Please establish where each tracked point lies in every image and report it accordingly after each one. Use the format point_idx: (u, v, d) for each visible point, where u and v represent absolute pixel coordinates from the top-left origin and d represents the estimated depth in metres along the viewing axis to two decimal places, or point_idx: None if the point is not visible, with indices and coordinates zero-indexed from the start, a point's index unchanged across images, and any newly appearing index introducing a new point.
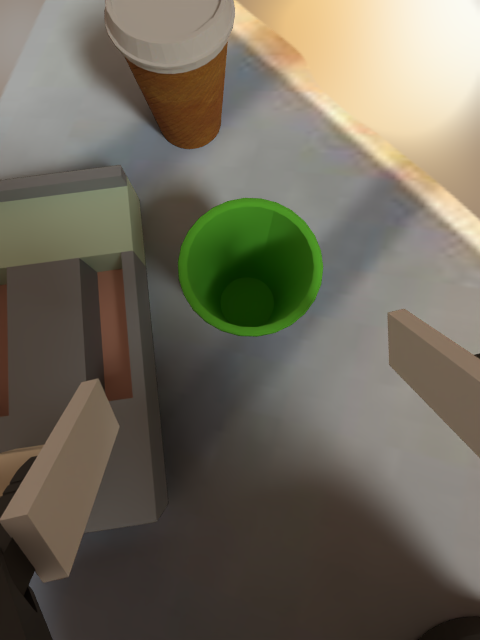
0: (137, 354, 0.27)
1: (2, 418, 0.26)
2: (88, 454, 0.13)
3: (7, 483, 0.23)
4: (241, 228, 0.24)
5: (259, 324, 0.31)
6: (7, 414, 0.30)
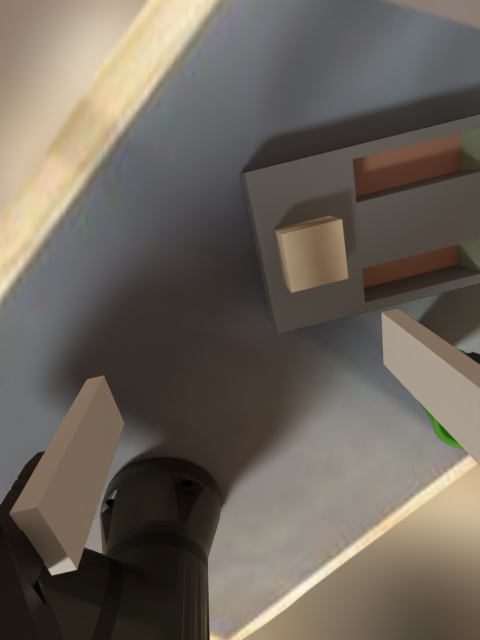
0: (397, 300, 0.34)
1: (354, 197, 0.30)
2: (94, 450, 0.13)
3: (321, 240, 0.28)
4: None
5: None
6: None
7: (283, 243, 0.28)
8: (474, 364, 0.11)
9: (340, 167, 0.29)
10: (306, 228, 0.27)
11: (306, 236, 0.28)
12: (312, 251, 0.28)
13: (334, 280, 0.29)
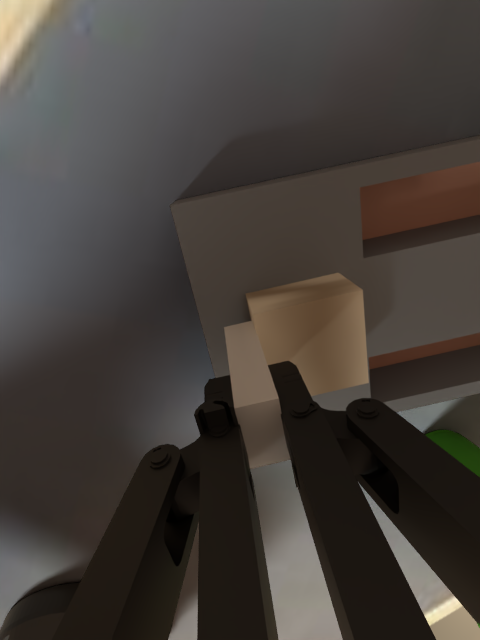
0: (421, 401, 0.22)
1: (360, 249, 0.18)
2: None
3: (324, 324, 0.16)
4: None
5: None
6: None
7: (257, 329, 0.15)
8: (266, 371, 0.13)
9: (338, 200, 0.17)
10: (298, 304, 0.15)
11: (299, 317, 0.15)
12: (308, 341, 0.16)
13: (345, 386, 0.17)
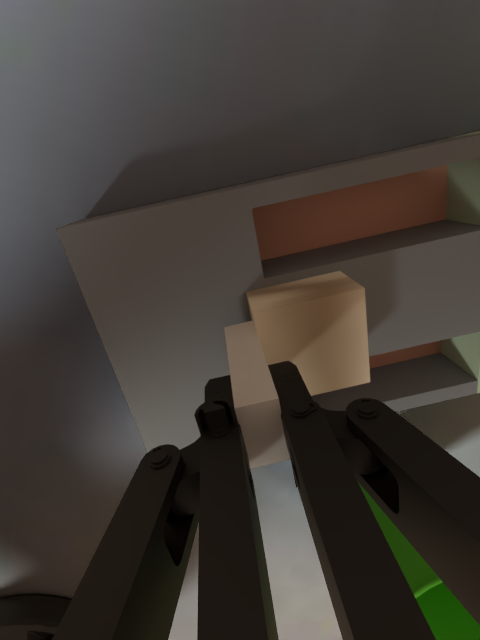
0: None
1: (259, 270, 0.17)
2: None
3: (326, 323, 0.16)
4: None
5: None
6: None
7: (257, 327, 0.15)
8: (266, 371, 0.13)
9: (230, 221, 0.16)
10: (299, 302, 0.15)
11: (300, 316, 0.15)
12: (309, 340, 0.16)
13: (346, 385, 0.17)
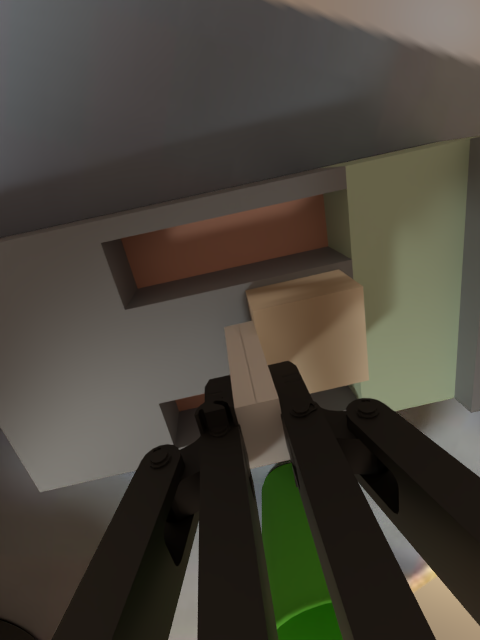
0: None
1: (118, 302, 0.17)
2: None
3: (324, 321, 0.16)
4: None
5: None
6: (126, 246, 0.20)
7: (257, 326, 0.15)
8: (266, 371, 0.13)
9: (81, 255, 0.16)
10: (298, 301, 0.15)
11: (299, 314, 0.15)
12: (308, 338, 0.16)
13: (345, 383, 0.17)
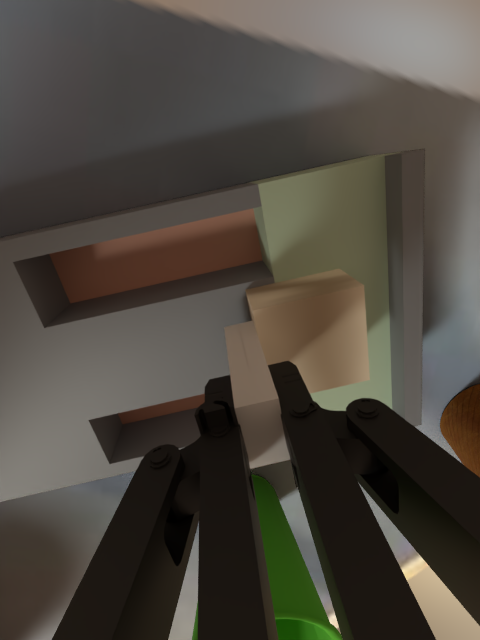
0: None
1: (37, 320, 0.17)
2: None
3: (325, 320, 0.16)
4: None
5: None
6: (55, 262, 0.20)
7: (257, 325, 0.15)
8: (266, 371, 0.13)
9: None
10: (299, 300, 0.15)
11: (299, 313, 0.15)
12: (309, 338, 0.16)
13: (346, 383, 0.17)
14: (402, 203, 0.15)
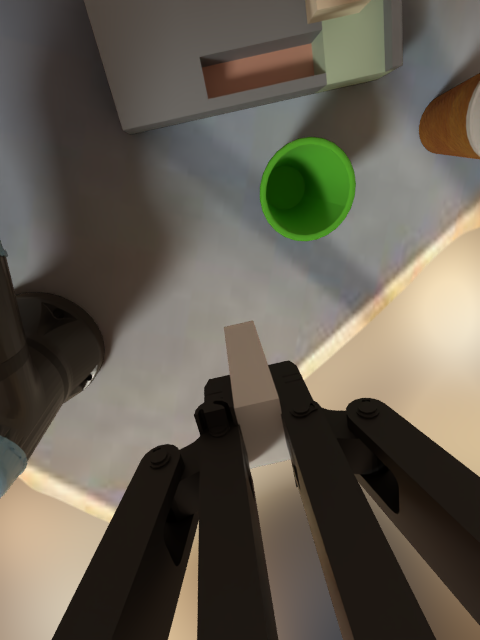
0: (241, 99, 0.34)
1: None
2: None
3: None
4: (336, 182, 0.34)
5: (268, 199, 0.41)
6: None
7: None
8: (266, 371, 0.13)
9: None
10: None
11: None
12: None
13: None
14: None
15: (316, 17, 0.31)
